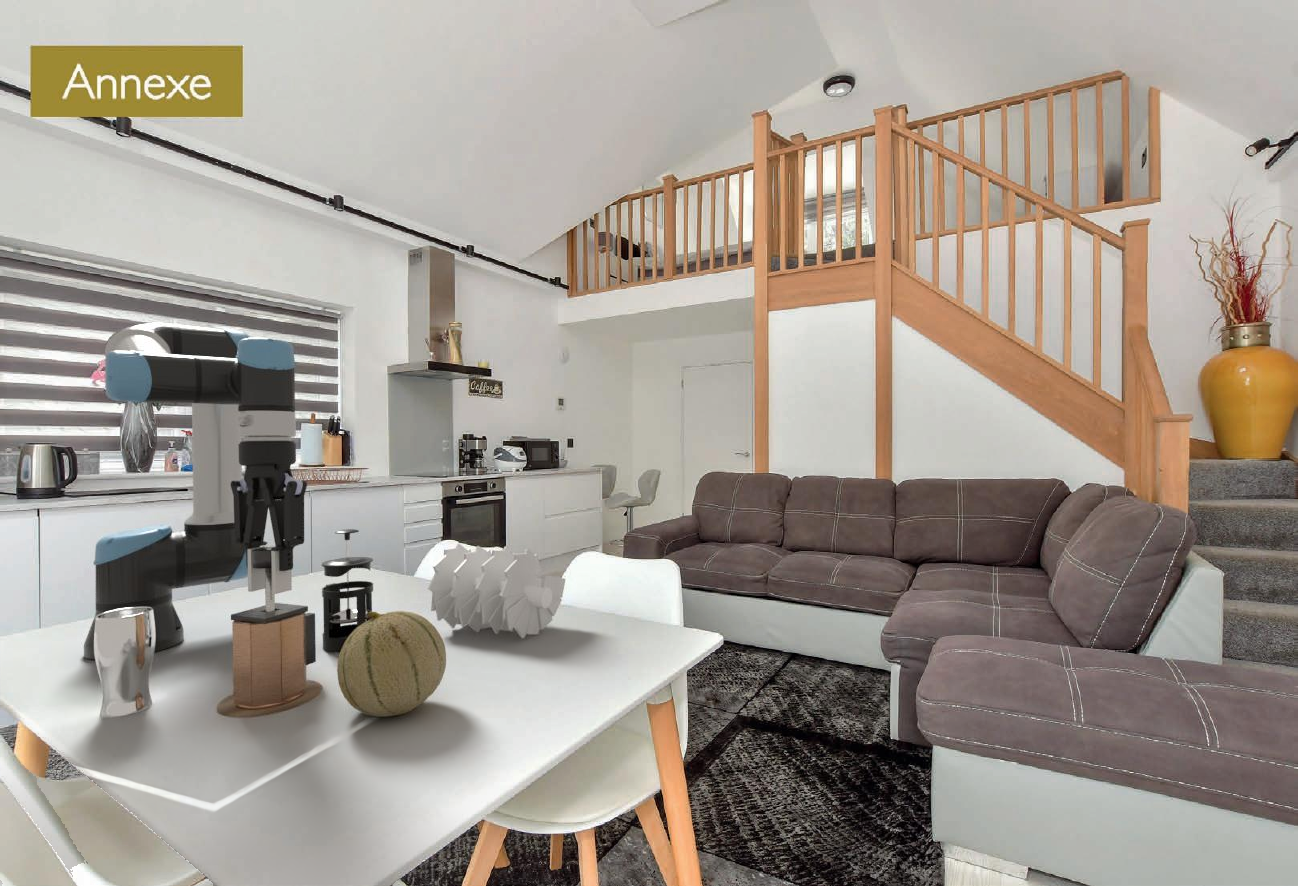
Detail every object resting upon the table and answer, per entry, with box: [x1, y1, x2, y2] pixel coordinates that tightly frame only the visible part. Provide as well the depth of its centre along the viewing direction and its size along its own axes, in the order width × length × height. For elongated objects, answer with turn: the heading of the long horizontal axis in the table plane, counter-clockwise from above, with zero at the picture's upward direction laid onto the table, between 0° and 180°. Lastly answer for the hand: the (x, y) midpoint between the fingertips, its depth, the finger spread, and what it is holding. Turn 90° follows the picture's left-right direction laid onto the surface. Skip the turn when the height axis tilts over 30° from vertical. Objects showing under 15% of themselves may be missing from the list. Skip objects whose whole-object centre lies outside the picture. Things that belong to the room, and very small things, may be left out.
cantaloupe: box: [336, 610, 447, 718], centre depth 90 cm, size 15×15×15 cm
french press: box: [321, 528, 374, 654], centre depth 119 cm, size 12×9×23 cm
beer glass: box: [94, 607, 156, 719], centre depth 91 cm, size 7×7×15 cm
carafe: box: [230, 602, 317, 710], centre depth 95 cm, size 9×12×13 cm
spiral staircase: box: [428, 543, 566, 640], centre depth 128 cm, size 18×18×25 cm
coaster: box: [215, 679, 324, 719], centre depth 94 cm, size 14×14×1 cm
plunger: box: [252, 546, 276, 613], centre depth 94 cm, size 6×6×21 cm
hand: (269, 590), depth 94 cm, fingers closed on plunger, 4 cm apart
